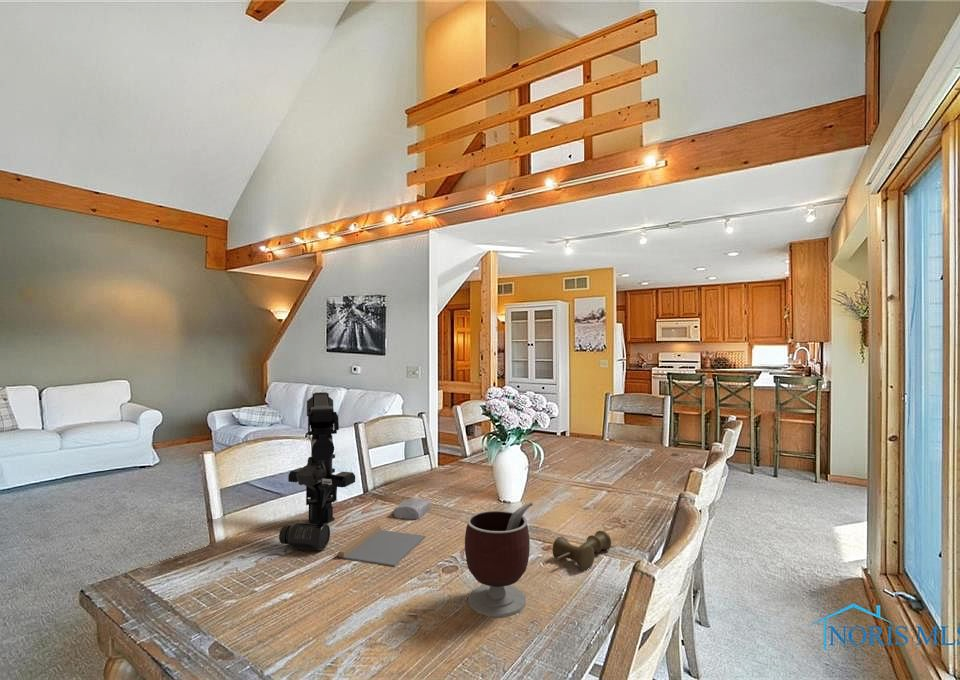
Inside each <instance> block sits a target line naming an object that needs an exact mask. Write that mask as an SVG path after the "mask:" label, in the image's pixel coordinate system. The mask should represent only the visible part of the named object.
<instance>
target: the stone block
mask: <svg viewBox="0 0 960 680" xmlns="http://www.w3.org/2000/svg"><path fill="white" fill-rule="evenodd" d="M430 509H431V499H425V498H420V497H413V498H409V499H404V500H402V501H401V502H400V503H399V504H397V507H395V508H394V509H393V514H394V517H395V518H396V517H397V518H396V519H400V518H406V519H405V520H408V519H407V518H410V519H409V520H417V519H419V520H421V519H420V518H421V517H422V518H423V516H425V514H426V513H427V512H428V511H429V510H430Z"/></svg>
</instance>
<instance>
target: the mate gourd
mask: <svg viewBox="0 0 960 680" xmlns="http://www.w3.org/2000/svg"><path fill="white" fill-rule="evenodd" d="M533 505H534V504H533V502H532V501H529V502H528V503H526V504H524V505H522V506H521V507H518V509H516V510H515V511H514V512H513V511H507V510H485V511H484V510H483V511H479V512H475V513H474V514H471V515H470V516H469V517H468V518H467V521H466V522H467V525H466V528H465V536H464V553H465V561H466V565H467V569H468V571H469V572H470V574H471V575H472V577H474V579H475V580H476V581H477V582H478V583H480V584H482V585H479V586H477V587H476V588H474V589H473V590H471V591H470V592H469V594H468V605H469V606H470V608H471V609H472V610H473V611H475V612H476V613H478V614H480V615H484V616H487V617H492V618H503V617H510V616H514V615H516V614H517V613H520V612H522V610H524V608H525V606H526V601H527V600H526V595H525V594H524V592H523V591H522V590H520V589H519V588H517V587H515V586H513V584H516V583H517V582H518V581H519V580H520V579H521V577H522V576H523V575H524V574H525V573H526V570H527V567H528V565H529V564H528V563H529V558H530V552H531V551H530V541H531V539H530V534H529V533H530V532H529V527H528V520H527V518H526V517H524V514H525V513H526V511H527V510H528V509H529V508H530V507H532V506H533Z"/></svg>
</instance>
